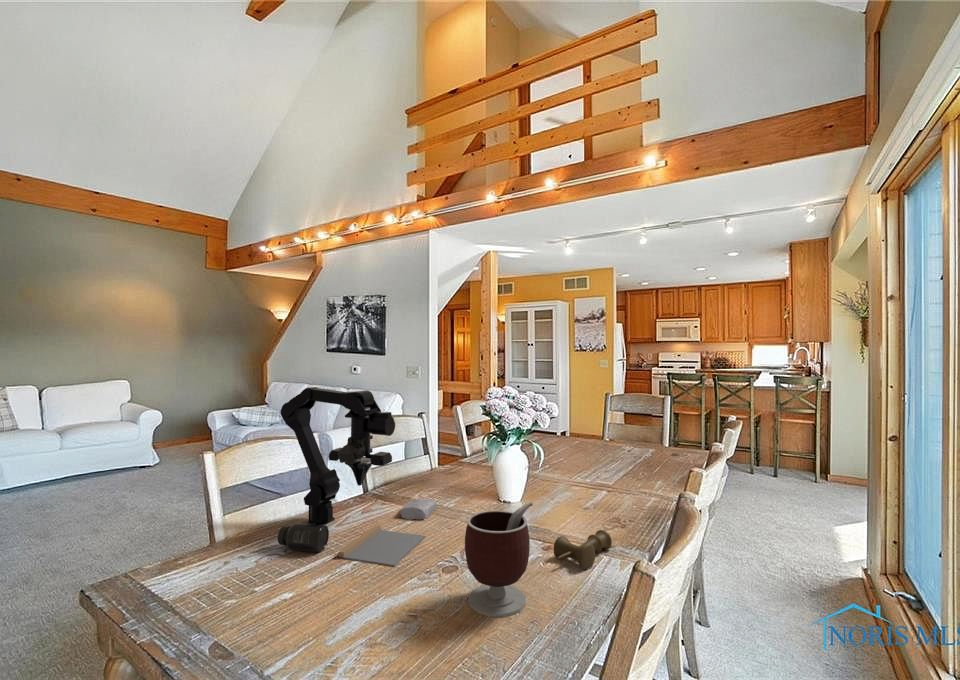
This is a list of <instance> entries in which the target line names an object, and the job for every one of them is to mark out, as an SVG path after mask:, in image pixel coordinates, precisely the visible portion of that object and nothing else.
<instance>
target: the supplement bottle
mask: <svg viewBox="0 0 960 680" xmlns="http://www.w3.org/2000/svg"><path fill="white" fill-rule="evenodd" d="M329 537H330V532H329V527H328V525H327V524H326V525H324V524H310V523H305V522H295V523H293V524H292V525H283V526H281V528H280V529H279V530H278V534H277V539H276V540H277V543H278V545H280V546H287V548H288V549H289V550H292V551H301V552H302V551H303V552H313V553H315V552H316V553H318V552H319V553H320V552H322V551H324V550H325V548H326V547H327V544H328V541H329Z"/></svg>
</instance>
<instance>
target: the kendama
mask: <svg viewBox="0 0 960 680" xmlns="http://www.w3.org/2000/svg"><path fill="white" fill-rule="evenodd" d="M612 541H613V540H612V537H611V535H610V533H609V532H607V531H606V530H604V529H599V530H597V531H596V532H595V534H589V535H588V537H587V540H586V541H585V542H584V543H582V544H580V545H579V546H578V545H577V544H576V545H575V544H573V543H572V542H571V541H570V540H569V539H568V537H566V536H564V535H560V536H558V537H557V538H556V539H555V540H554V544H553V555H554V557H555V558H557V560H561V559H564V558H565V559H566V558H569V559H572V560H574V561H576V562H577V563H578V565H579V567H580V568H581V569H582V570H585V569H587V570H589V569H591V568H592V567H593V565H594V563H595V561H596V553H598V552H601V551H602V550H605V549H607V550H610V549H611V547H612V543H613V542H612ZM602 548H603V549H602ZM590 567H591V568H590ZM588 568H589V569H588ZM585 571H586V570H585Z"/></svg>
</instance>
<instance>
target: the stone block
mask: <svg viewBox="0 0 960 680" xmlns="http://www.w3.org/2000/svg"><path fill="white" fill-rule="evenodd" d="M436 509H437V500H436V499H429V498H417V499H412V500H409V501H408V502H407V503H405V504H404V506H403V507H401V508H400V513H399V514H400V516H401V518H402V519H403V518H406V519H405V520H413V519H423V520H422V521H425V520H424V519H427V518H428V517H429V518H430V517H431V515H432V514H433V513H434V512H435V511H436ZM434 510H435V511H434ZM433 511H434V512H433ZM432 512H433V513H432ZM429 518H428V519H429ZM428 519H427V520H428Z"/></svg>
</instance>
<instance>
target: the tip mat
mask: <svg viewBox="0 0 960 680" xmlns="http://www.w3.org/2000/svg"><path fill="white" fill-rule="evenodd" d="M381 527H382V526H381V525H379V524H378V525H377V524H375V525H374V526H373V527H371V528H370V529H368V530H367V531H366V532H364V533H363V534H361V535H360V536H358V537H357V538H356V539H354V540H353V541H351V542H350V543H349V544H347V545H346V546H344V547H343V548H342V549H339V551H338V554H337V555H338V559H343V560H352V561H355V560H356V561H357V562H361V563H362V562H363V563H369V564H376V565H383V566H386V567H387V566H389V567H396V565H398V564H399V563H400V562H401V561H402V560H403V559H404V558H405V557H406V556H407V555H408V554H409V553H410V552H411V551H412V550H414V548H416V547H417V546H418V545H420V544H421V542H423V540H424V539H426V535H422V534H415V533H409V532H408V533H407V532H399V531H392V530H386V529H385V530H384V529H382V528H381Z"/></svg>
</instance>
